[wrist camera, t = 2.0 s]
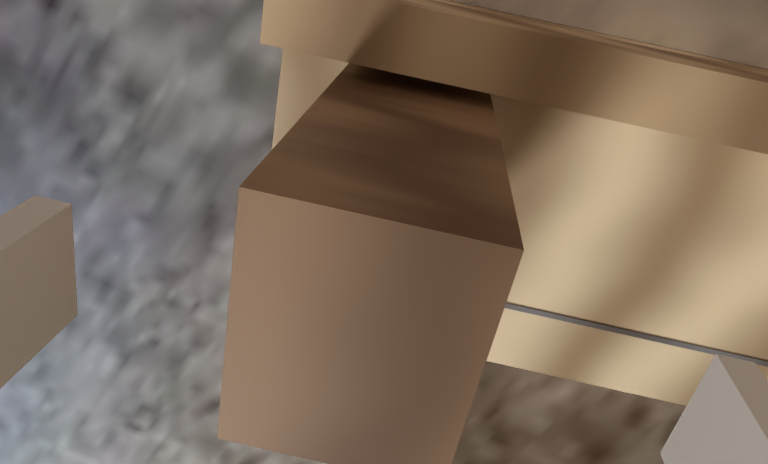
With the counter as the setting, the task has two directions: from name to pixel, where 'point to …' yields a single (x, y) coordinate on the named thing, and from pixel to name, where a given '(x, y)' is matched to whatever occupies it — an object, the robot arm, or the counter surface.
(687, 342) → the board
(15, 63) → the counter surface
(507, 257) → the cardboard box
